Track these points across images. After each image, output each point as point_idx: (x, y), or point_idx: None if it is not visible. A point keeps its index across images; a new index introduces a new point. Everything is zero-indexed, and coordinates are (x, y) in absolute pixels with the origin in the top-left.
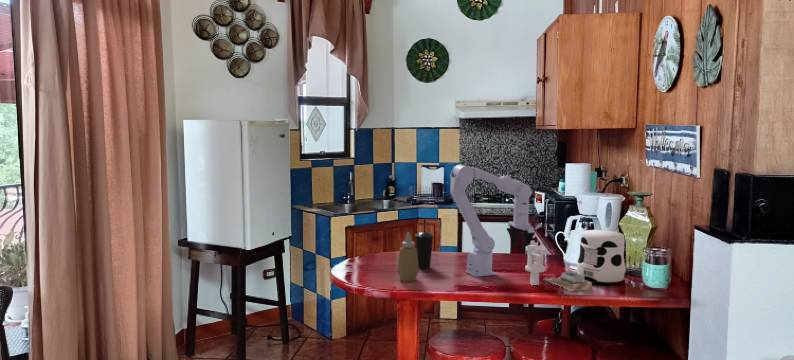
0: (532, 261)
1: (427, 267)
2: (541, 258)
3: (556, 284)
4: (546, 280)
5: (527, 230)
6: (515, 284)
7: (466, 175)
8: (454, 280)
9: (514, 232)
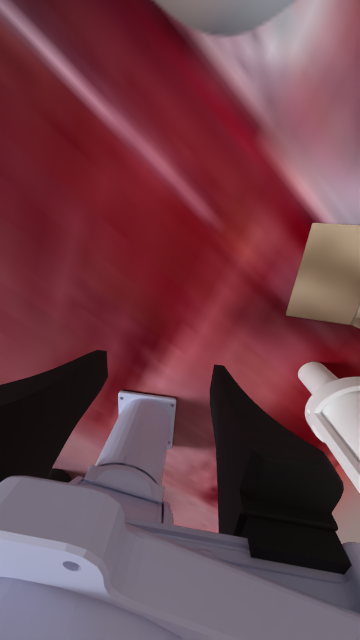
0: (338, 422)
1: (69, 481)
2: None
3: None
4: (315, 319)
5: (293, 586)
6: (275, 411)
7: None
8: (172, 485)
9: (42, 441)
